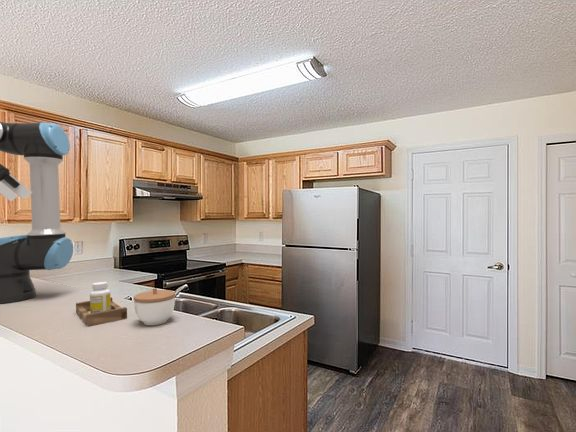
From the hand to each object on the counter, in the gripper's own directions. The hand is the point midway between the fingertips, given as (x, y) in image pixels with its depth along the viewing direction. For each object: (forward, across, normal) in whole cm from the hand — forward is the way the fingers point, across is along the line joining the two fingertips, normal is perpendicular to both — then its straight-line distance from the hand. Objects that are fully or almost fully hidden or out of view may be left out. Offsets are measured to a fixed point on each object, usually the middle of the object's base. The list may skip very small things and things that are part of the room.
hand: (21, 197), depth 94 cm
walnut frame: (+37, +9, -14) cm, 40 cm away
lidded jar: (+42, +29, -9) cm, 51 cm away
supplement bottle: (+37, +9, -14) cm, 41 cm away
